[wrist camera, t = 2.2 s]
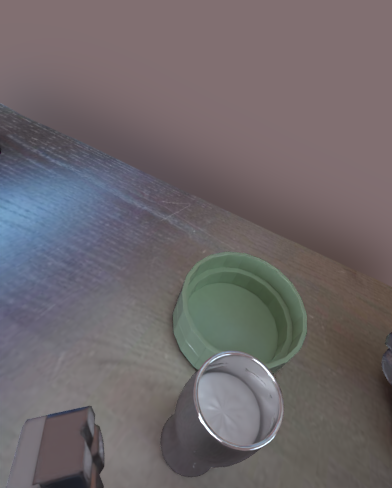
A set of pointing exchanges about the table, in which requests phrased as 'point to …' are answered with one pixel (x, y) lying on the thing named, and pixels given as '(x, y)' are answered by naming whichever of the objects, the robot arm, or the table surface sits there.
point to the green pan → (239, 311)
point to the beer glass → (222, 415)
